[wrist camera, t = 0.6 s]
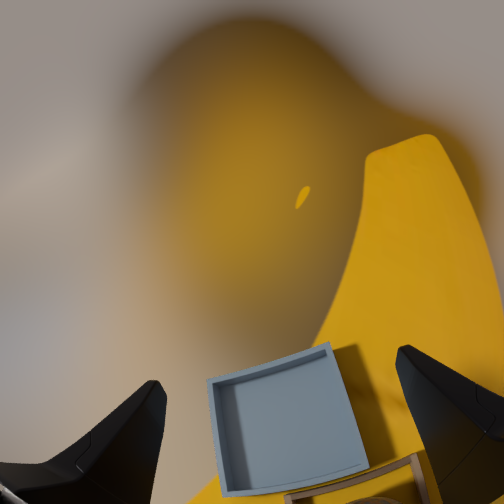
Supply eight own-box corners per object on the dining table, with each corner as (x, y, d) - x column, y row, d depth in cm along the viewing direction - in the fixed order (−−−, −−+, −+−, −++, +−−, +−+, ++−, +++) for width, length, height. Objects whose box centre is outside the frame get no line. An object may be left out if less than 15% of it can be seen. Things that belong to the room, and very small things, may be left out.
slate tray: (368, 466, 14) (369, 467, 13) (233, 495, 15) (222, 497, 14) (331, 350, 22) (329, 341, 21) (216, 385, 23) (206, 379, 22)
